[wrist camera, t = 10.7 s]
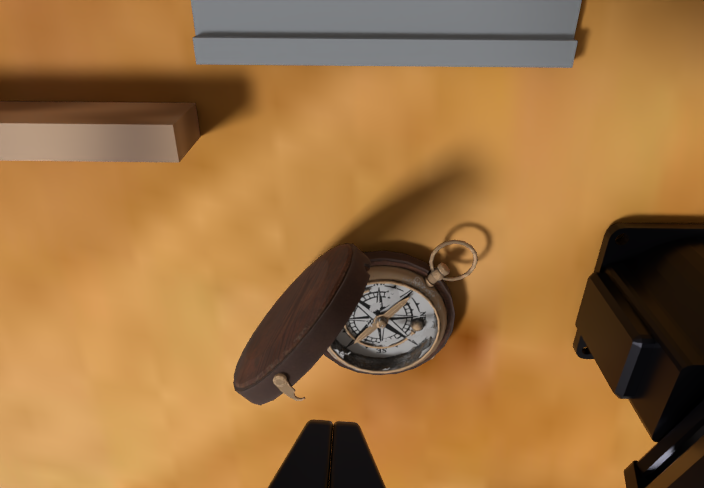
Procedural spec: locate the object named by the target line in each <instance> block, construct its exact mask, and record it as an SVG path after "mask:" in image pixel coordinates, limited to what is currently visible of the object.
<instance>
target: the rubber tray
mask: <svg viewBox="0 0 704 488" xmlns="http://www.w3.org/2000/svg"><path fill="white" fill-rule="evenodd" d="M581 2H582V0H191V5H192V12H193V19H194V27H195V34H196V36H195V37H193V44H194V51H195V58H196V64H219V65H334V66H448V67H563V68H572V66H573V61H574V57H575V52H576V47H577V42H578V41H577V40H575V39H574V36H575V31H576V26H577V21H578V17H579V12H580V7H581Z"/></svg>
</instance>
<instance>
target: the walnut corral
mask: <svg viewBox="0 0 704 488" xmlns="http://www.w3.org/2000/svg"><path fill="white" fill-rule="evenodd" d="M199 138H200V130H199V123H198V116H197V109H196V103H152V102H47V101H0V160H8V161H100V162H180V161H181V160H182V158H183V157H184V156H185V155H186V153H187V152H188V151H189V150H190V149H191V147H192V146H193V145H194V144H195V143H196V141H197V140H198V139H199Z"/></svg>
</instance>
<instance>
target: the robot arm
mask: <svg viewBox="0 0 704 488" xmlns="http://www.w3.org/2000/svg"><path fill="white" fill-rule="evenodd" d="M620 234H624V236H623V237H622V238H621V239H619V240H615V239H616V237H617V236H618V235H620ZM576 327H577V332H576V336H575V339H574V343H573V348H574V350H575V352H576V354H577V355H578V357H580V358H583V359H595V361H596V363H597V364H598V366H599V368H600V370H601V372H602V373H603V375H604V377H605V379H606V380H607V382H608V384H609V386H610V388H611V389H612V391H613V393H614V394H615V395H616V396H617V397H618V398H620V399H629V401H630V403H631V404H632V406H633V408H634V410H635V411H636V413H637V415H638V416H639V418H640V420H641V421H642V423H643V425H644V427H645V428H646V430H647V432H648V433H649V435H650V437H651V439H652V440H653V441H654V442H658V443H657V444H656V445H655V446H654V447H653V448H652V449H651V450H649V451H648V452H647V453H646V454H645V455H644V456H643V457H642V458H641V459H640V460H639V461H633V462H632V463H631V464H630V465H629V466H628V467H627V468H626V469H625V470H624V476H625V482H626V488H704V224H676V223H617V224H614V225H612V226H610V227H609V228H608V229H607V231H606V233H605V235H604V238H603V242H602V245H601V249H600V252H599V256H598V259H597V263H596V266H595V270H594V273H592V274H591V275H590V276H589V278H588V281H587V284H586V288H585V291H584V295H583V298H582V302H581V306H580V309H579V313H578V316H577V320H576ZM586 346H587V348H584V347H586ZM332 434H333V438H332ZM331 449H332V452H331ZM330 463H331V466H330ZM329 477H330V480H329ZM268 488H386V487H385V485H384V482H383V480H382V478H381V475H380V473H379V471H378V468H377V466H376V464H375V461H374V459H373V457H372V454H371V452H370V449H369V447H368V445H367V442H366V440H365V438H364V435H363V433H362V431H361V428H360V426H359V425H358V424H357V423H355V422H341V421H338V422H335V423H334V425H333V424H332V422H331V421H326V420H310V421H308V422H307V424H306V425H305V427H304V428H303V430H302V432H301V433H300V435H299V437H298V438H297V440H296V442H295V443H294V445H293V447H292V448H291V450H290V452H289V453H288V455H287V457H286V458H285V460H284V462H283V463H282V465H281V467H280V468H279V470H278V471H277V473H276V475H275V476H274V478H273V480H272V481H271V483H270V485H269V486H268Z"/></svg>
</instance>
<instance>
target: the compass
mask: <svg viewBox="0 0 704 488" xmlns="http://www.w3.org/2000/svg"><path fill="white" fill-rule="evenodd" d="M450 244H461V245H464V246H466V247H467V248H469V249H470V250H471V252H472V253H473V258H474V261H473V264H472V267H471V268H470V269H469V270H468V271H467V272H466V273H464V274H462V275H461V276H457V277H445V276H446V275H448V274H449V273H450V270H449V268H448V267H447V265H446V264H444V263H440V264H438V266H437V267H435V268H434V265H433V260H434V256H435V254H436V253H437V252H438V251H439V249H441V248H443V247H444V246H446V245H450ZM477 261H478V259H477V252H476V251H475V249H474V248H473V247H472V245H470V244H468V243H466V242H465V241H460V240H451V241H446V242H444V243H442V244H440V245H439V246H437V247H436V248H435V250H434V251H433V252H432V253H431V256H430V260H429V264H430V266H429V265H428V264H427V263H425V262H423V261H421V260H419V259H416V258H414V257H412V256H410V255H407V254H403V253H396V252H390V251H375V252H365V253H363V252H362V251H361V250H359V249H358V248H357V247H356V246H355V245H354V244H348V243H346V244H343V245H339V246H336V247H334V248H332V249H330V250H329V251H327V252H326V253H325V254H323V255H322V256H320V257H319V258H318V259H317V260H316V261H314V262H313V263H312V264H311V265H310V266H309V267H308V268H307V269H305V271H304V272H303V273H302V274H301V275H300V276H299V277H298V278H297V279H296V280H295V281H294V282H293V283H292V284H291V285H290V286H289V287H288V289H287V290H286V291H285V292H284V293H283V294H282V296H281V297H280V298H279V299H278V300H277V302H276V303H275V304H274V305H273V307H272V308H271V309H270V311H269V312H268V313H267V314H266V316H265V317H264V319H263V320H262V322H261V323H260V324H259V326H258V327H257V329H256V330H255V332H254V333H253V335H252V336H251V338H250V340H249V342H248V343H247V345H246V347H245V348H244V350H243V352H242V354H241V357H240V359H239V361H238V363H237V366H236V370H235V373H234V382H233V383H234V388H235V391H236V392H238V393H239V394H241V395H242V396H243V397H245V398H246V399H247V400H249V401H250V402H252V403H254V404H258V405H262V404H265V403H267V402H270V401H272V400H274V399H276V398H277V397H278V396H280V395H281V394H283V393H284V394H286V395H287V396H288V397H290V398H292V399H294V400H296V401H302V400H304V399H305V397H303V398H298V397H296V396H295V394H294V393H295V389H294V388H293V387H292V386H293V385H294V384H295V383H296V382H297V381H298V380H299V379H300V378H301V377H302V376H303V375H305V374H306V373H307V372H308V371H309V370H310V369H311V368H312V367H313V365H314V364H315V363H316V362H317V361H318V360H319V358H320V357H321V356H322V355H323V354H324V355H325V356H326V357H328V358H329V359H331V360H332V361H334V362H335V363H337V364H338V365H340V366H342V367H344V368H347V369H350V370H353V371H355V372H358V373H365V374H373V375H385V374H397V373H400V372H404V371H407V370H410V369H414V368H416V367H418V366H420V365H422V364H423V363H425V362H427V361H428V360H430V359H433V358H434V357H435V355H436V354H437V353H438V352H439V351H440V350H441V349H442V348H443V347H444V346H445V344H446V342H447V340H448V339H449V337H450V335H451V333H452V331H453V325H454V319H455V311H454V307H453V302H452V297H451V293H450V290H449V288H448V286H447V285H446V283H445V282H444V280H448V281H456V280H461V279H463V278H465V277H467V276H468V275H470V274H471V272H472V271H473V270H474V269H475V267H476V264H477Z"/></svg>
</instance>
